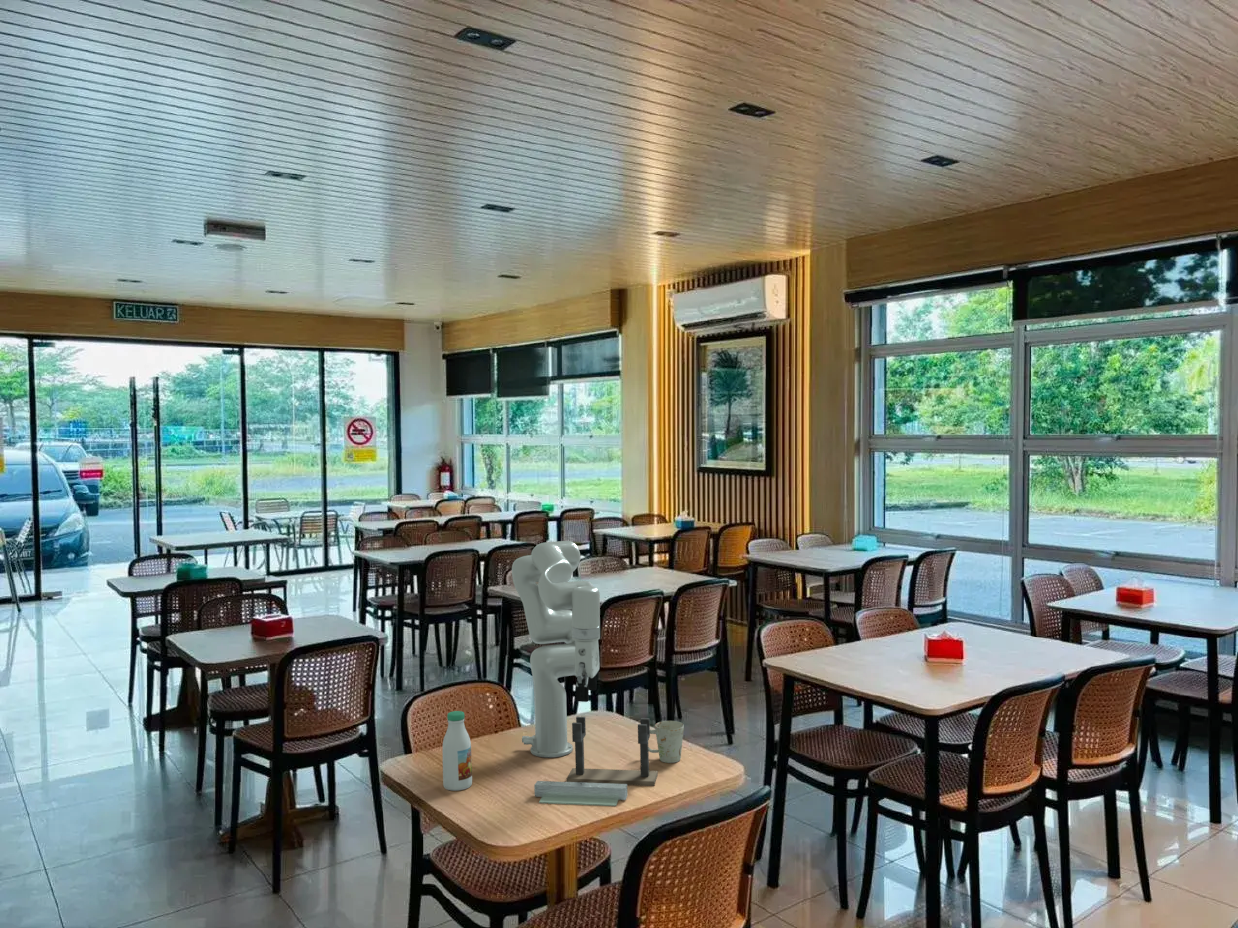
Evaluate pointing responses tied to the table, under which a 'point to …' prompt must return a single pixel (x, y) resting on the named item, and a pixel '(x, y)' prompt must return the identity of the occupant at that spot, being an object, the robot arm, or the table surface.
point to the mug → (668, 740)
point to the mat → (578, 801)
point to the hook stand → (611, 775)
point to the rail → (580, 790)
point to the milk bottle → (456, 754)
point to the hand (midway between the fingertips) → (586, 695)
